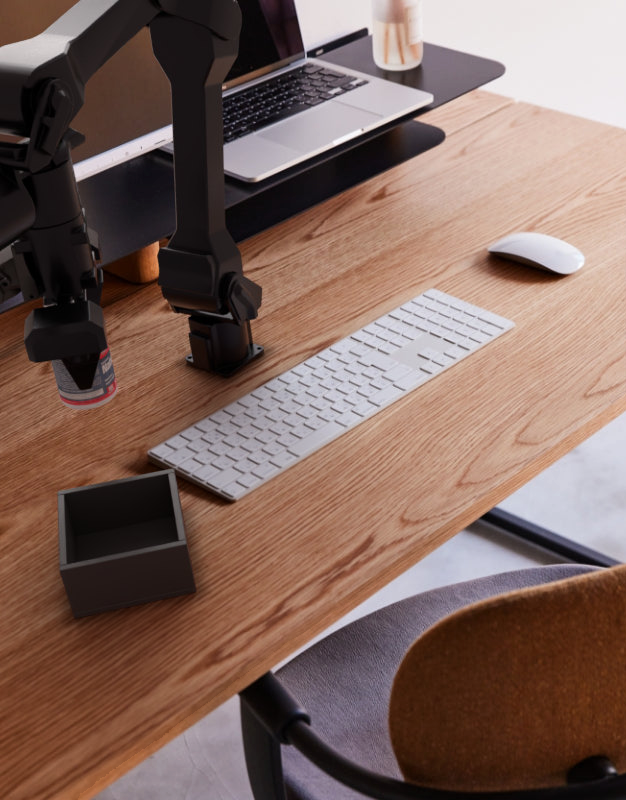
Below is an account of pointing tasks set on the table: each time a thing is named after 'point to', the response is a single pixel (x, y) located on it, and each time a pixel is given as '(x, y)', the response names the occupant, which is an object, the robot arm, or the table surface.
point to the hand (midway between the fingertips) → (85, 371)
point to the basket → (123, 543)
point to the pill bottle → (90, 398)
